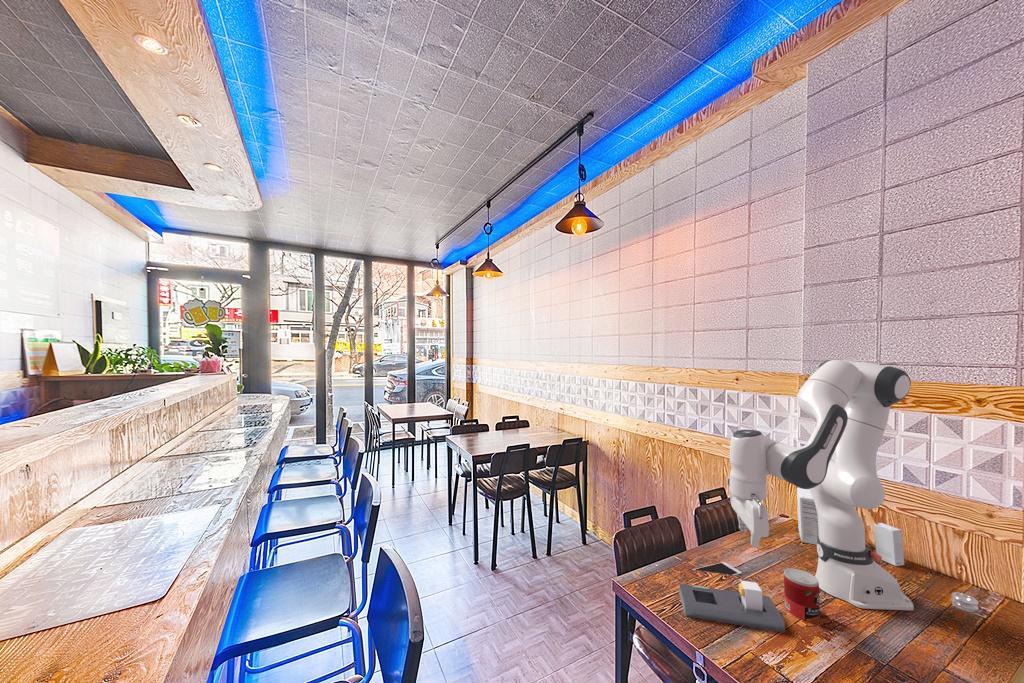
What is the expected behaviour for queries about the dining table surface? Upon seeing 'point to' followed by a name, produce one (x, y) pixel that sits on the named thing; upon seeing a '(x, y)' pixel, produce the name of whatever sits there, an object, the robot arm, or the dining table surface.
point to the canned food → (802, 595)
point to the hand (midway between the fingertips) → (748, 538)
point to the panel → (728, 608)
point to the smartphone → (720, 569)
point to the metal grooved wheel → (965, 602)
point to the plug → (751, 596)
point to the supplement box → (807, 516)
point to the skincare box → (889, 544)
